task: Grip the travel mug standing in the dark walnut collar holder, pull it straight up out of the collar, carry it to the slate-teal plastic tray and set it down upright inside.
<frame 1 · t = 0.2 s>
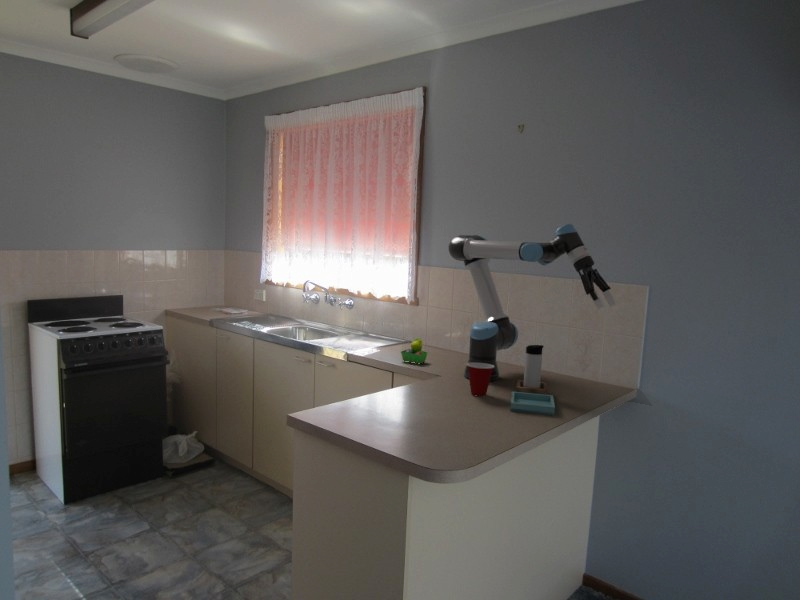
hand: (607, 306, 219), 35 cm above the countertop, tool tilted 35°, fingers open, 13 cm apart
fruit basket: (414, 362, 269), on the countertop
collar holder: (531, 395, 220), on the countertop
plastic cup: (478, 394, 219), on the countertop
tray: (531, 407, 205), on the countertop
travel mug: (531, 395, 220), resting in collar holder
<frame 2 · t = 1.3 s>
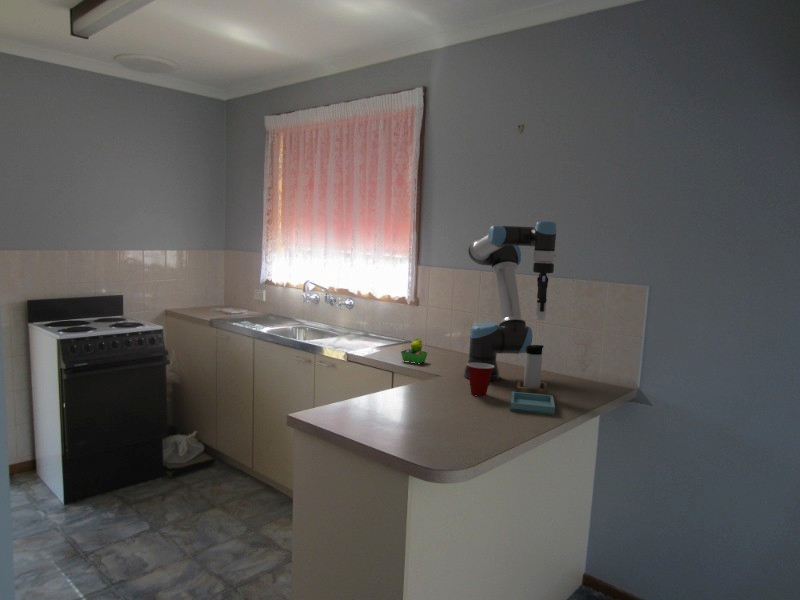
hand: (540, 317, 217), 31 cm above the countertop, tool pointing down, fingers open, 13 cm apart
nothing on the countertop moved.
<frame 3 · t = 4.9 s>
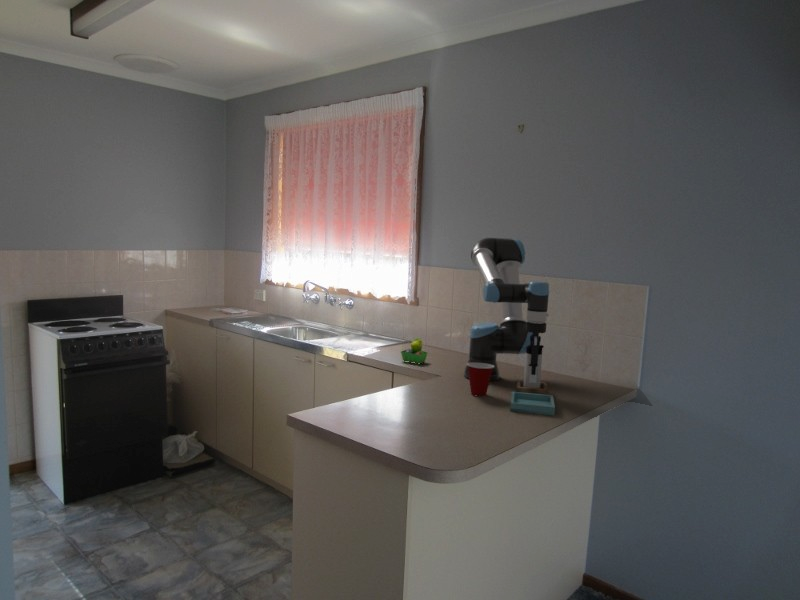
hand: (532, 380, 220), 6 cm above the countertop, tool pointing down, fingers closed on travel mug, 6 cm apart
travel mug: (531, 395, 220), resting in collar holder, touching gripper
everything else where it was.
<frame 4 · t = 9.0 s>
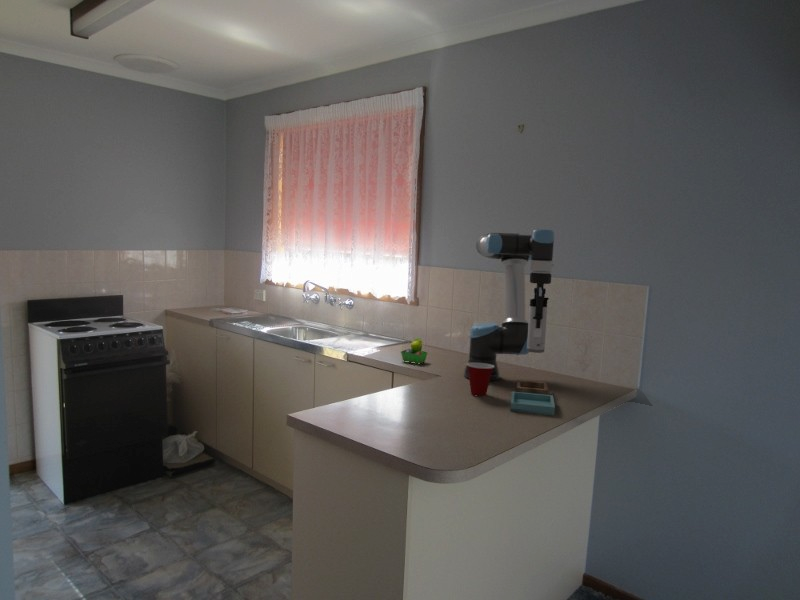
hand: (536, 335, 206), 26 cm above the countertop, tool pointing down, fingers closed on travel mug, 6 cm apart
travel mug: (535, 351, 207), point 19 cm above the countertop, touching gripper
everything else where it was.
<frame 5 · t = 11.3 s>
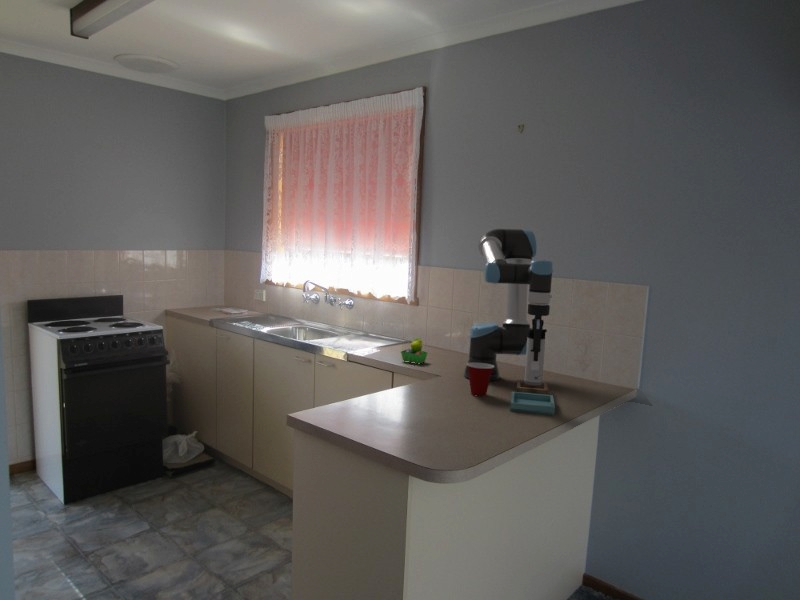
hand: (534, 367, 203), 15 cm above the countertop, tool pointing down, fingers closed on travel mug, 6 cm apart
travel mug: (533, 383, 203), point 9 cm above the countertop, touching gripper
everything else where it was.
when the fingers open (8 cm above the countertop, at t = 13.3 s): travel mug drops 1 cm, resting on tray.
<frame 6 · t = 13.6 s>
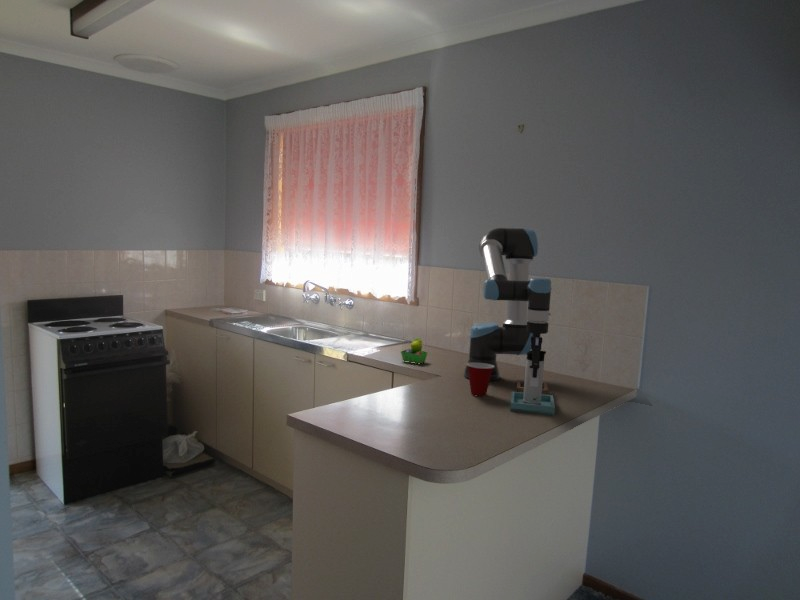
hand: (533, 382, 204), 9 cm above the countertop, tool pointing down, fingers open, 10 cm apart
travel mug: (532, 404, 205), point 1 cm above the countertop, touching tray
everything else where it was.
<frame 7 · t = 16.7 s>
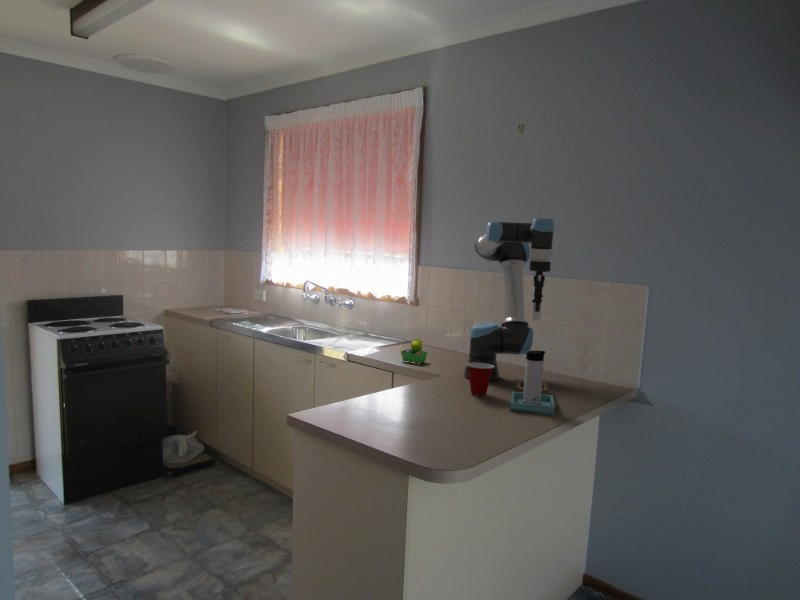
hand: (536, 317, 211), 31 cm above the countertop, tool pointing down, fingers open, 13 cm apart
nothing on the countertop moved.
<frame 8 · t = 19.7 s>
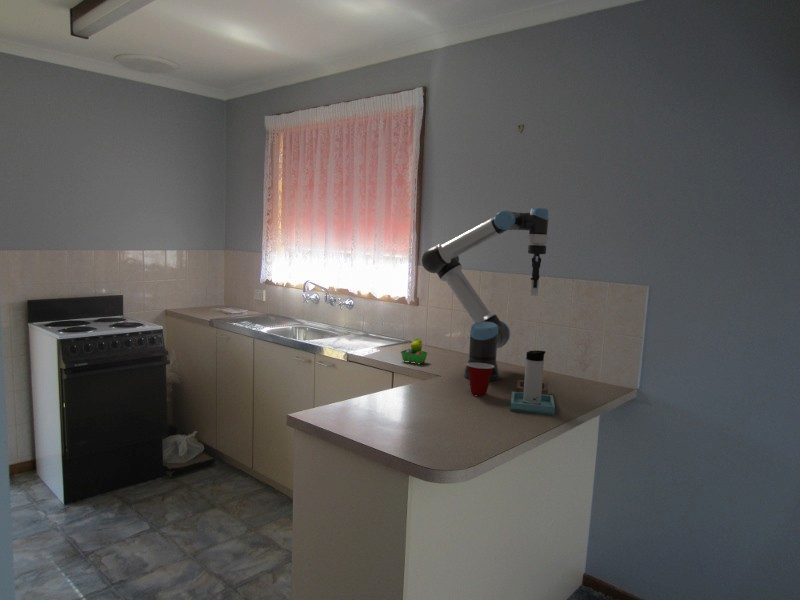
hand: (534, 294, 244), 37 cm above the countertop, tool pointing down, fingers open, 13 cm apart
nothing on the countertop moved.
at the end: travel mug inside the target area on the tray (0.0 cm from its centre), point 0.8 cm above the tray's base; travel mug tilted 0°; the gripper is holding nothing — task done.
